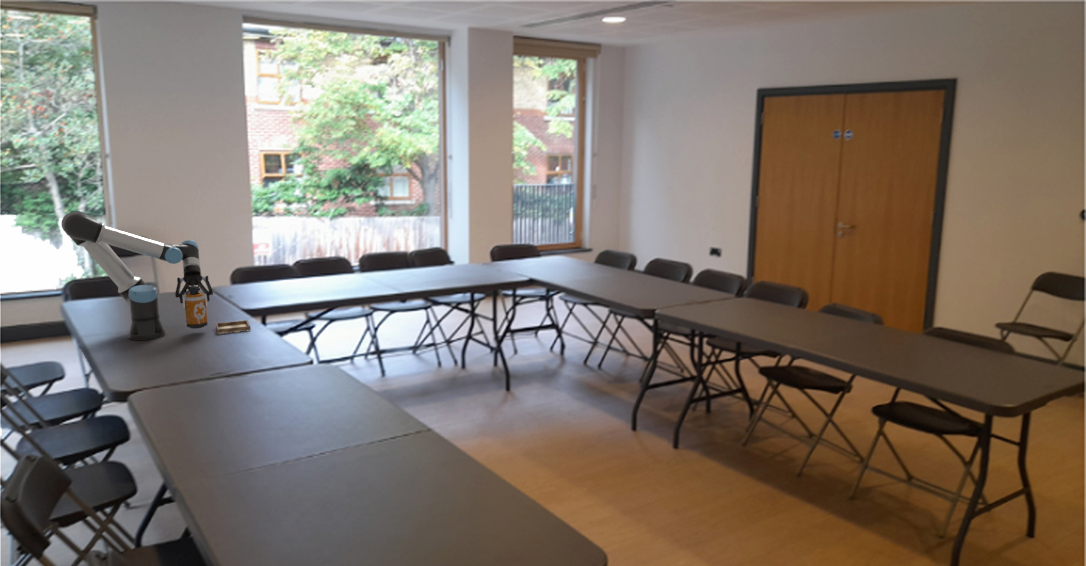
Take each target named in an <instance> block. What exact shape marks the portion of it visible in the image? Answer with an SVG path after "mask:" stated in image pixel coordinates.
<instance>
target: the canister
mask: <svg viewBox="0 0 1086 566" xmlns="http://www.w3.org/2000/svg"><path fill="white" fill-rule="evenodd" d="M200 291H201V289H200V287H198V285H192V286H189V285H188V286H187V287H186V290H185V294H184V299H185V310H184V311H185V319H186V327H187V328H190V329H193V330H194V329H202V328H204V327H206V326H208V315H207V308H206V302H205V294H204V292H203V293H202V292H200Z"/></svg>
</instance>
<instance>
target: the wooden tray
mask: <svg viewBox="0 0 1086 566" xmlns="http://www.w3.org/2000/svg"><path fill="white" fill-rule="evenodd" d="M215 329H216V332H217V333H216V334H217V335H222V334H221V333H226V334H231V332H235V333H241V332H240V331H244V332H248V331H247V330H251V324H250V323H249V321H248V320H247V319H245V320H244V319H243V320H236V321H225V322H218V323H217V322H216V323H215Z"/></svg>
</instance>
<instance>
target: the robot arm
mask: <svg viewBox="0 0 1086 566" xmlns="http://www.w3.org/2000/svg"><path fill="white" fill-rule="evenodd" d="M61 228H62V230H63V232H64V233H65V234H66V235H67V236H68V237H70V239H71V241H73V242H74V243H75V245H76V246H77V247H78V246H79V247H82V248H83V249H85V251H86V252H87V253H88V254H89V255H90V256H91V258H92V259H93V260H94V262H96V263H97V264H98V266H99V267H100V268H101V269H102V270H103V271H104V273H105V274H106V275H107V276H108V277H109V278H110V279H111V281H112V282H113V283H114V284H115V285H116V287H117V288H118V290H117V293H118V294H119V295H120V297H122V299H124V301H125V302H126V304H128V306H129V308H130V317H131V323H130V328H129V332H128V338H130V339H129V340H131V339H132V341H147V340H148V339H150V340H155V338H156V339H159V338H163V337H164V335H165V336H166V329H165V327H164V325H163V323H162V321H161V318H160V317H161V316H160V308H159V297H158V295H159V294H158V290H157V288H156V286H154V285H150V284H146V282H145V281H144V280H143V279H142V278H141V277H140V276H135V275H134V274H133V272H132V271H131V270H130V268H128V266H127V265H126V264H125V263H124V262H123V261H122V259H121V258H120V257H119V256H118V254H117V253H115V251H114V250H113V249H112V247H111V246H113V247H115V248H119V249H123V250H127V251H131V252H133V253H137V254H140V255H144V256H147V257H150V258H154V259H158V260H161V261H165V262H167V263H169V264H174V265H176V264H178V263H180V262H181V261H182V269H183V277H182V278H180V277H177V278H176V282H177V284H176V289H175V294H174V295H175V298H179V302H180V304H182V306H183V311H185V301H186V298H185V294H186V293H185V290H186V287H187V286H188V285H189V286H192V285H194V286H198V287H199V288H200V291H201V292H203V294H204V299H205V302H206V309H208V302H210V300H211V298H210V296H212V295H213V294H214V291H213V288H212V286H211V284H210V283H211V282H210V281H209V275H205V276H202V272H201V263H200V262H201V261H200V254H199V251H200V250H199V245H198V243H197V242H196V241H195V240H192V239H188V240H183V241H182V242H181V244H175V243H164V242H159V241H157V240H153V239H149V238H146V237H142V236H140V235H136V234H133V233H129V232H127V231H122V230H119V229H116V228H114V227H110V226H106V225H105V224H104V222H101V221H99V220H97V219H94V218H92V217H90V216H89V215H88V214H87V213H86V212H84V211H80V210H73V211H70V212H68V213H67V214H65V215H64V216H63V218H62V219H61ZM202 281H203V282H205V285H206V287H205V285H203V283H202ZM183 282H184V285H183V288H182V289H181V285H182V283H183ZM180 290H181V291H180ZM186 291H187V290H186ZM162 336H163V337H162ZM148 341H149V340H148Z"/></svg>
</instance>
